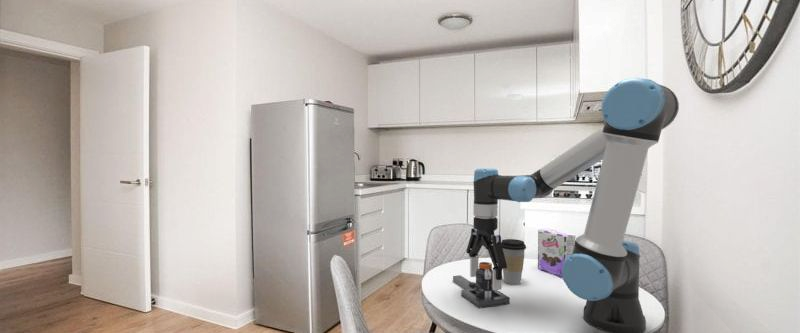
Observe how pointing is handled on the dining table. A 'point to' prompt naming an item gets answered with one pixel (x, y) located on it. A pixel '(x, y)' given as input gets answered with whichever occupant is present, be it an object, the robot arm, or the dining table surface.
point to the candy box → (554, 250)
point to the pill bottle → (484, 281)
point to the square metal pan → (471, 296)
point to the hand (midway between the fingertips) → (485, 282)
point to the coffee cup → (513, 260)
